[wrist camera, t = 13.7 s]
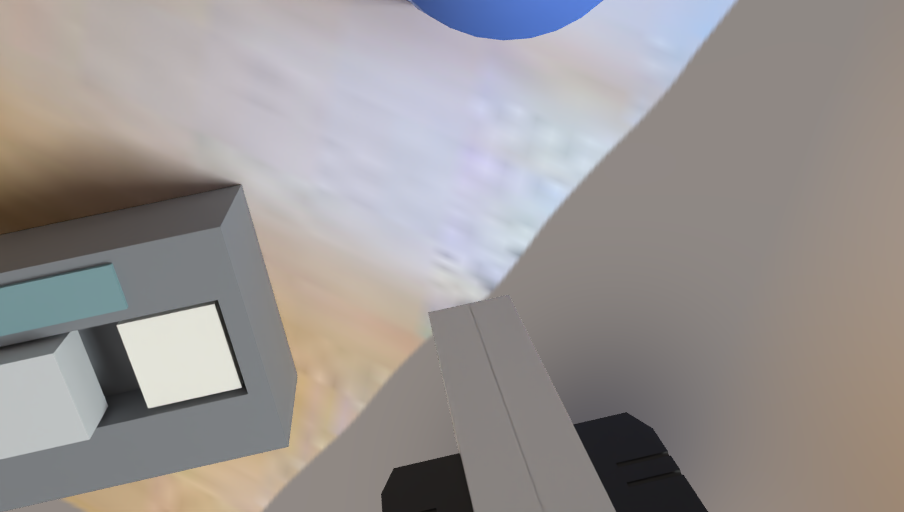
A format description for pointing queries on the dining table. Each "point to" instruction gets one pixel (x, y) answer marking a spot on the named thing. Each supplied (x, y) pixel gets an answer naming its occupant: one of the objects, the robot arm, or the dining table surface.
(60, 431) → the grey key
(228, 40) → the dining table surface
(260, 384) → the grey boxy piece
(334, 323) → the dining table surface
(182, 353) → the ivory key
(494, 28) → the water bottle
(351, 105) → the dining table surface
